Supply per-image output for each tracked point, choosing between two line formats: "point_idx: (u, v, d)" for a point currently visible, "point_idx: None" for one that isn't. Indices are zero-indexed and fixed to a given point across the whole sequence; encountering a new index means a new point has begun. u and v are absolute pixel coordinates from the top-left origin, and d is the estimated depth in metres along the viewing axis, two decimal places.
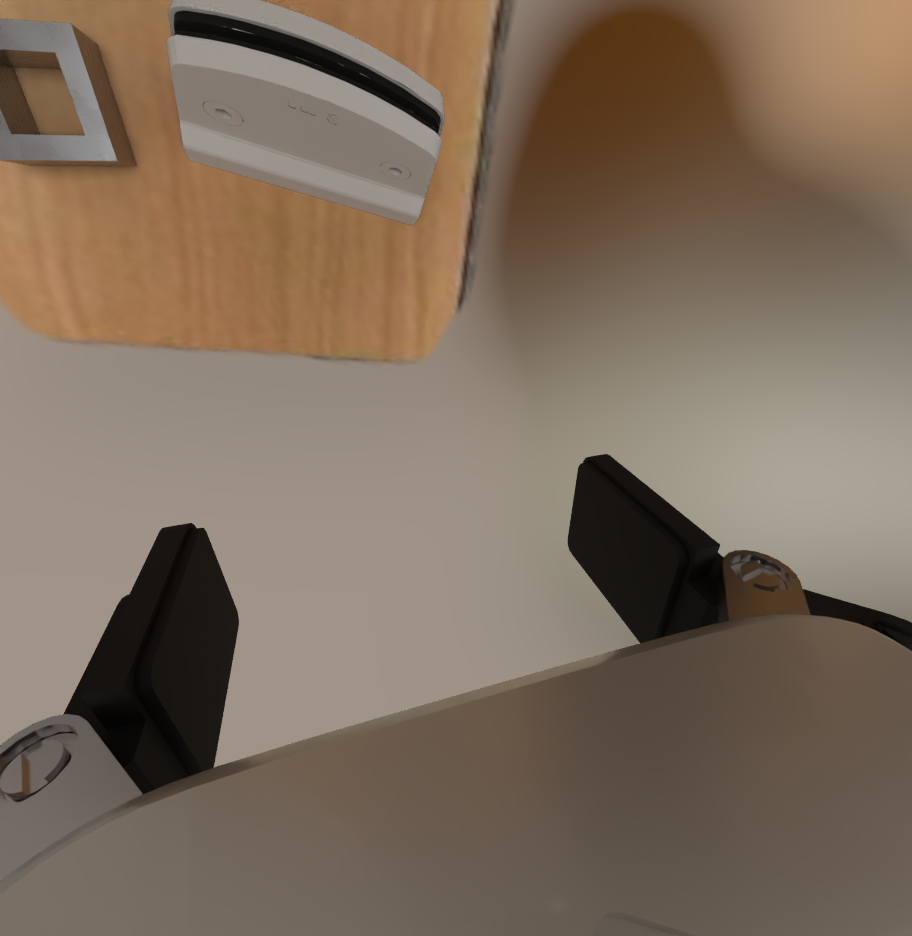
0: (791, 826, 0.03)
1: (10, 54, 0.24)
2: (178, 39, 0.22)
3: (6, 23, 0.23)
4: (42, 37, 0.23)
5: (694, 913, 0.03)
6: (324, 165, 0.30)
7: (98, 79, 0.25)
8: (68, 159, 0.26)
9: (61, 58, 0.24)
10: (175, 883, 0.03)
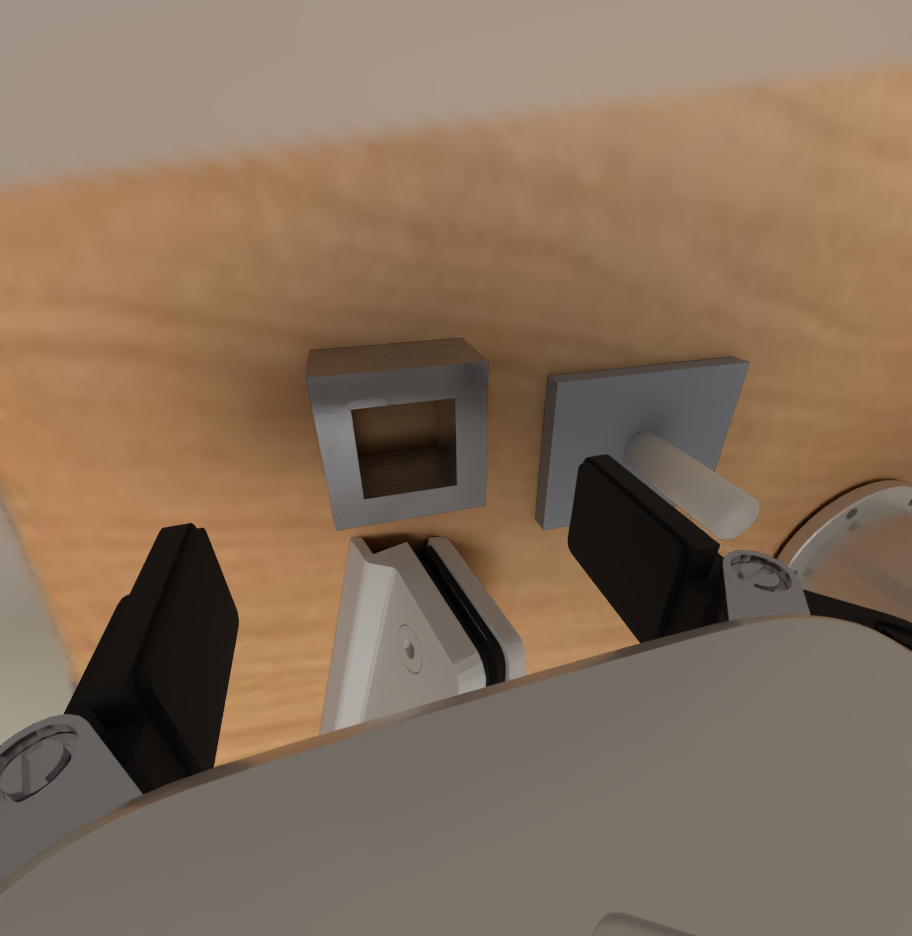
0: (791, 826, 0.03)
1: (449, 418, 0.17)
2: (481, 680, 0.17)
3: (482, 442, 0.16)
4: (471, 475, 0.17)
5: (694, 913, 0.03)
6: (368, 693, 0.24)
7: None
8: (326, 474, 0.15)
9: (451, 489, 0.17)
10: (175, 883, 0.03)
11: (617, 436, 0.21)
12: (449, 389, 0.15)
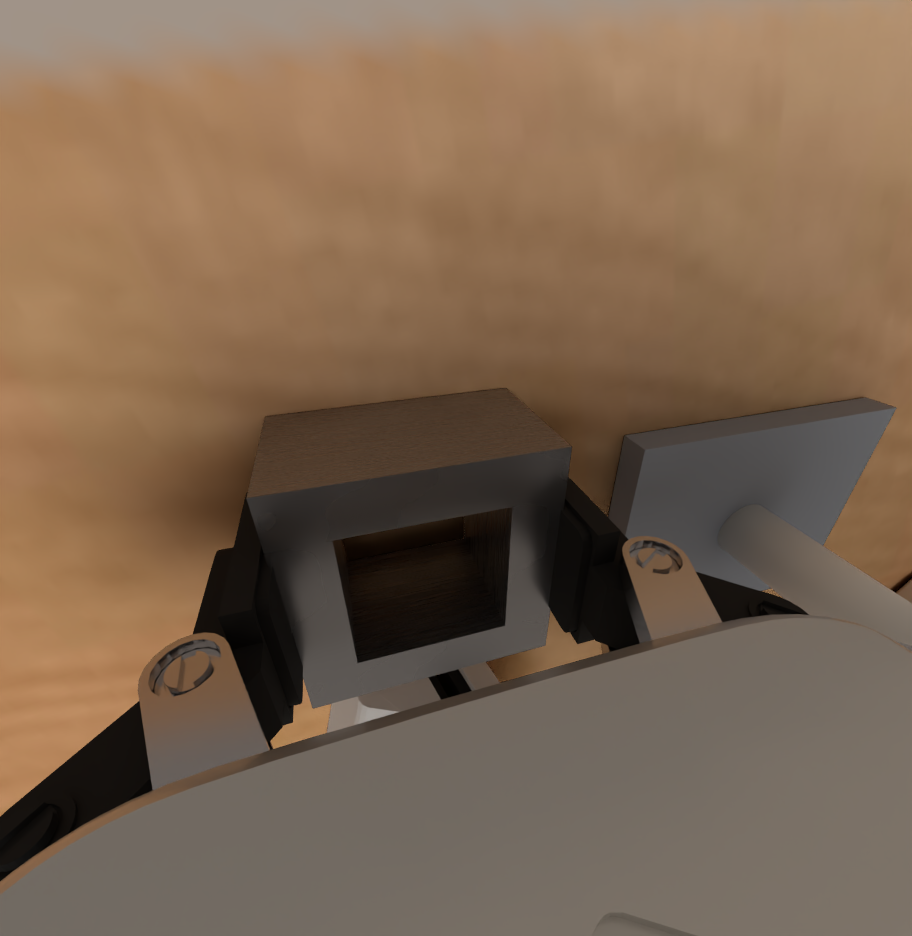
0: (791, 826, 0.03)
1: (495, 525, 0.10)
2: None
3: (549, 564, 0.10)
4: (527, 611, 0.11)
5: (695, 911, 0.03)
6: None
7: None
8: None
9: (495, 631, 0.11)
10: (175, 883, 0.03)
11: (713, 513, 0.15)
12: (503, 494, 0.09)
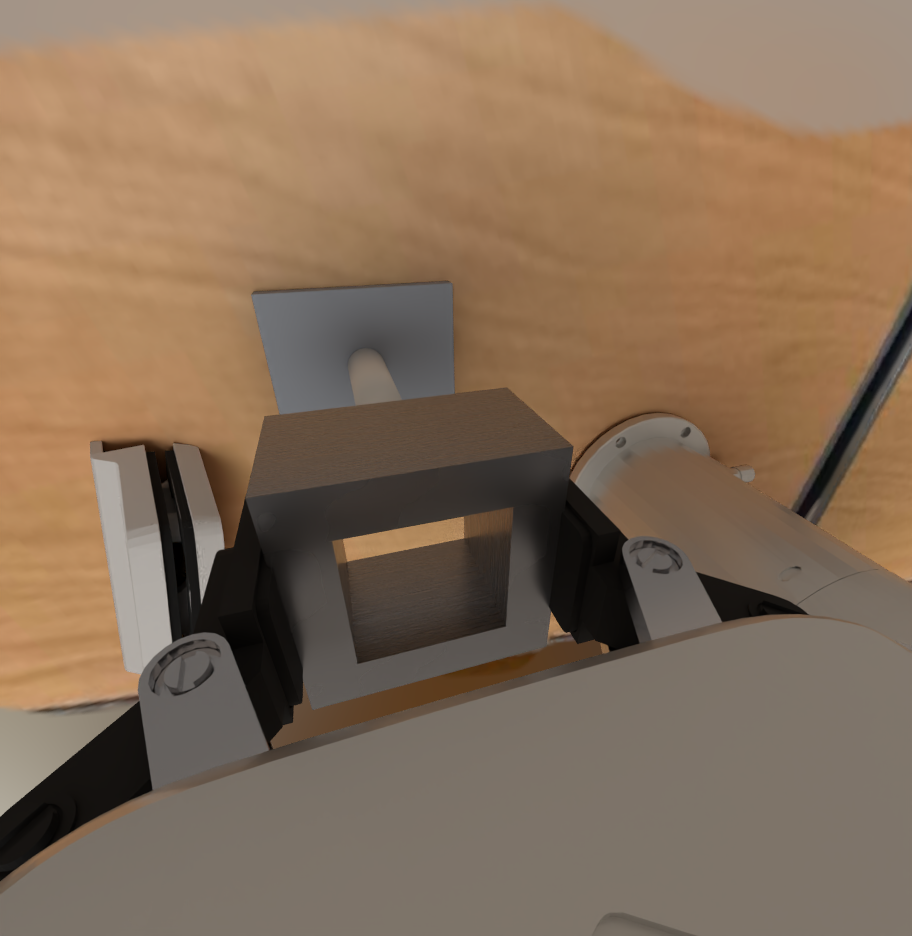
0: (791, 826, 0.03)
1: (496, 525, 0.10)
2: (156, 547, 0.19)
3: (550, 565, 0.10)
4: (528, 611, 0.11)
5: (693, 911, 0.03)
6: None
7: None
8: None
9: (496, 632, 0.11)
10: (175, 883, 0.03)
11: (334, 351, 0.23)
12: (504, 494, 0.09)
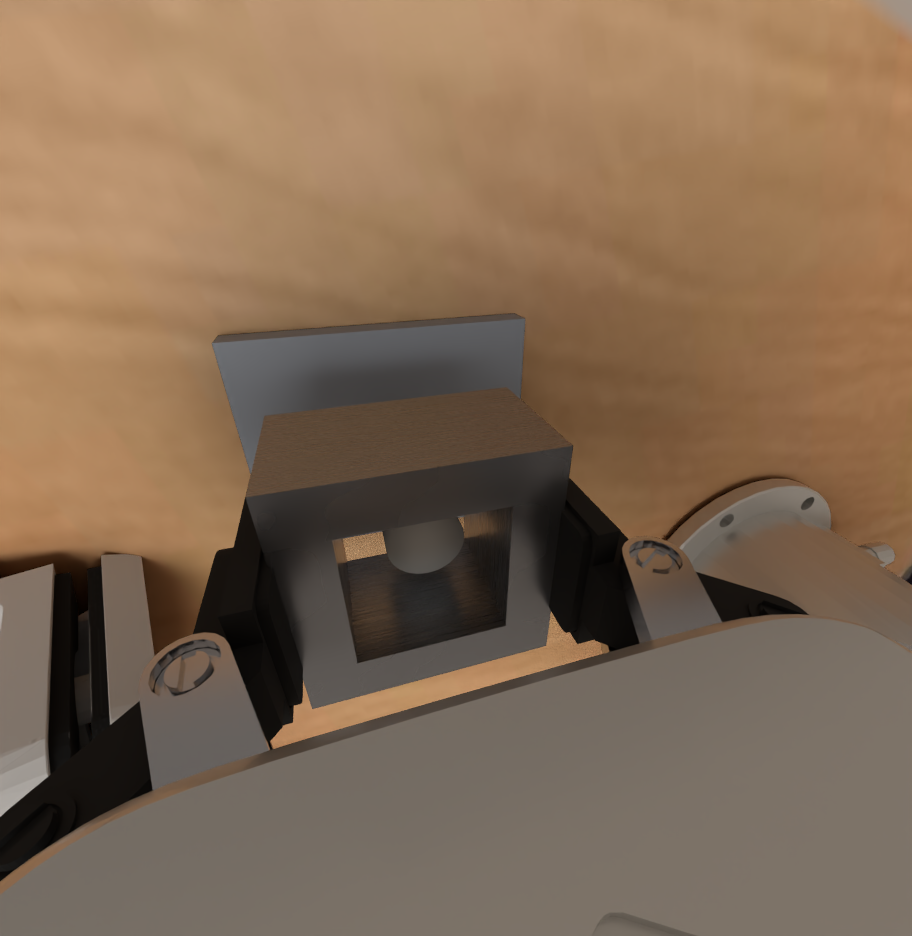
0: (791, 826, 0.03)
1: (495, 524, 0.10)
2: None
3: (550, 564, 0.10)
4: (528, 610, 0.11)
5: (694, 913, 0.03)
6: None
7: None
8: None
9: (496, 632, 0.11)
10: (175, 883, 0.03)
11: None
12: (504, 493, 0.09)
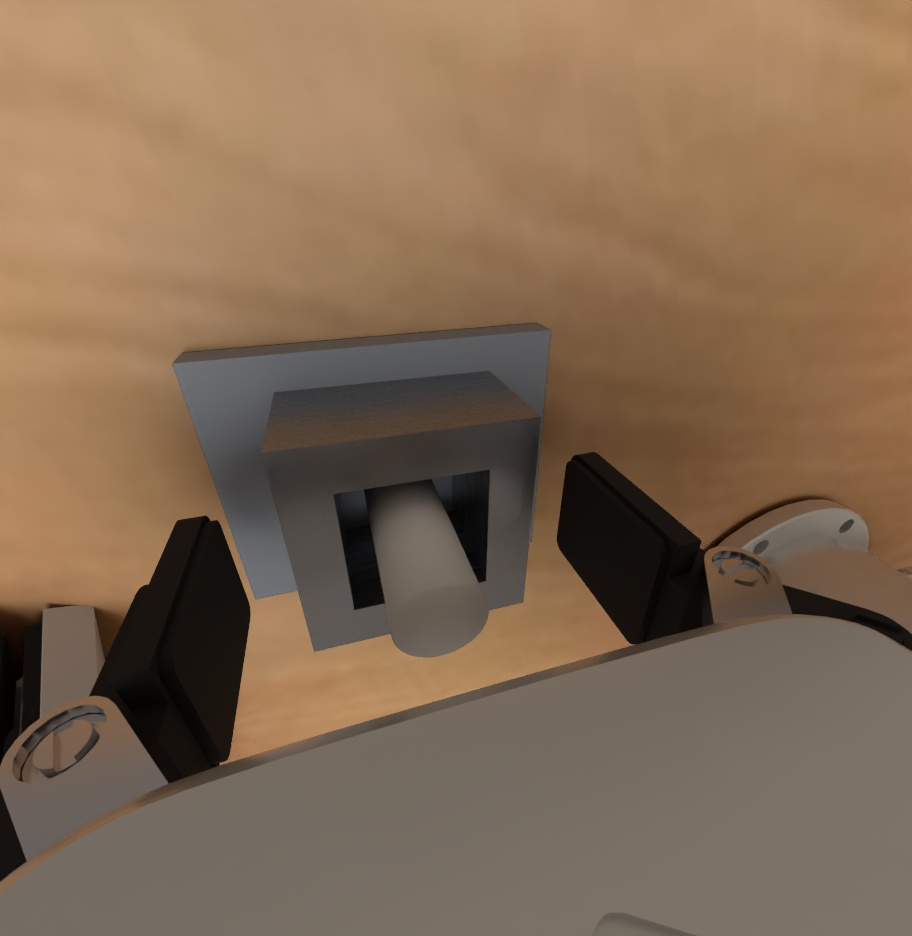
0: (791, 826, 0.03)
1: (477, 489, 0.12)
2: None
3: (524, 524, 0.11)
4: (505, 567, 0.12)
5: (694, 913, 0.03)
6: None
7: None
8: (298, 583, 0.10)
9: None
10: (175, 883, 0.03)
11: None
12: (482, 457, 0.10)
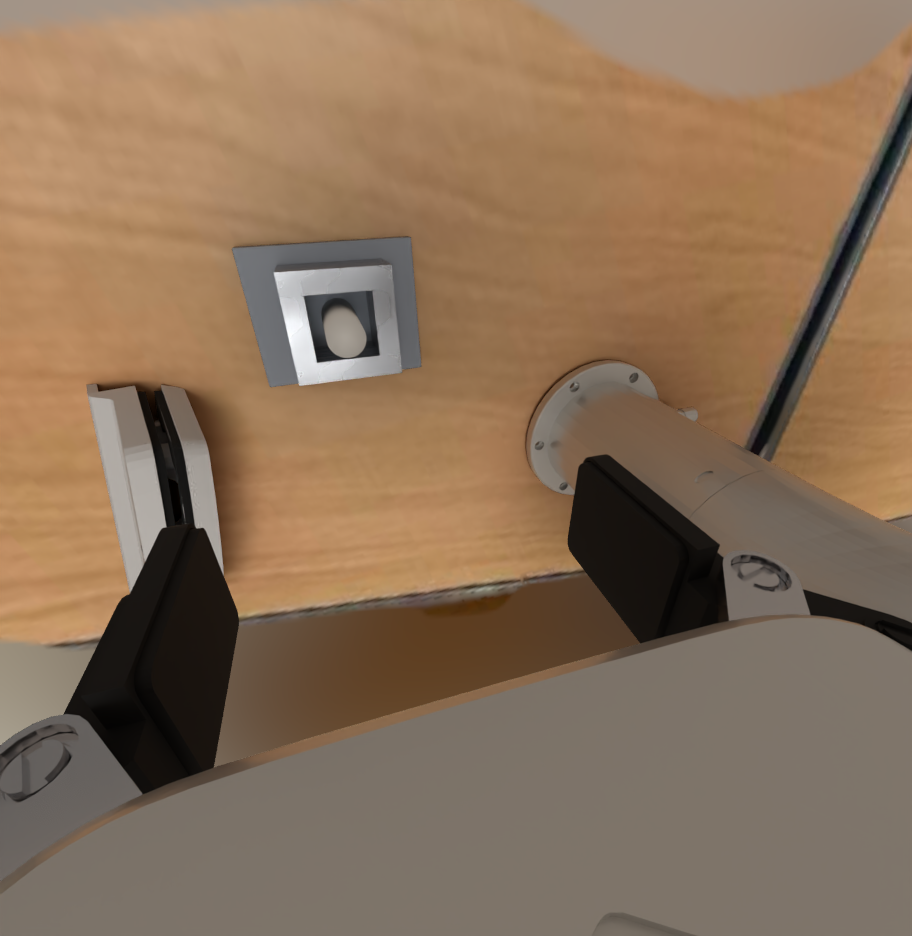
0: (791, 826, 0.03)
1: (372, 308, 0.25)
2: (150, 462, 0.22)
3: (394, 323, 0.25)
4: (389, 348, 0.26)
5: (694, 913, 0.03)
6: (135, 525, 0.29)
7: None
8: (290, 342, 0.24)
9: (376, 358, 0.26)
10: (175, 883, 0.03)
11: (308, 300, 0.26)
12: (367, 283, 0.23)
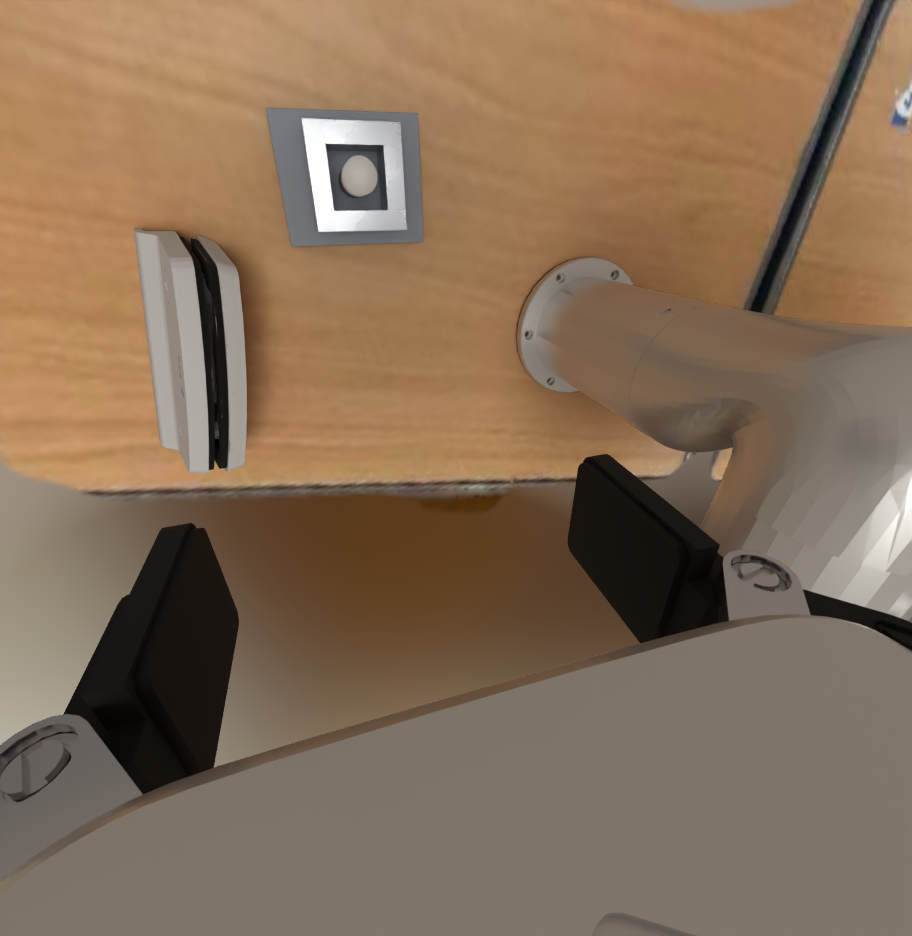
0: (791, 826, 0.03)
1: (383, 167, 0.29)
2: (191, 271, 0.26)
3: (401, 180, 0.29)
4: (396, 204, 0.30)
5: (694, 911, 0.03)
6: (170, 364, 0.33)
7: None
8: (312, 187, 0.28)
9: (385, 213, 0.30)
10: (175, 883, 0.03)
11: (328, 165, 0.30)
12: (379, 138, 0.28)
